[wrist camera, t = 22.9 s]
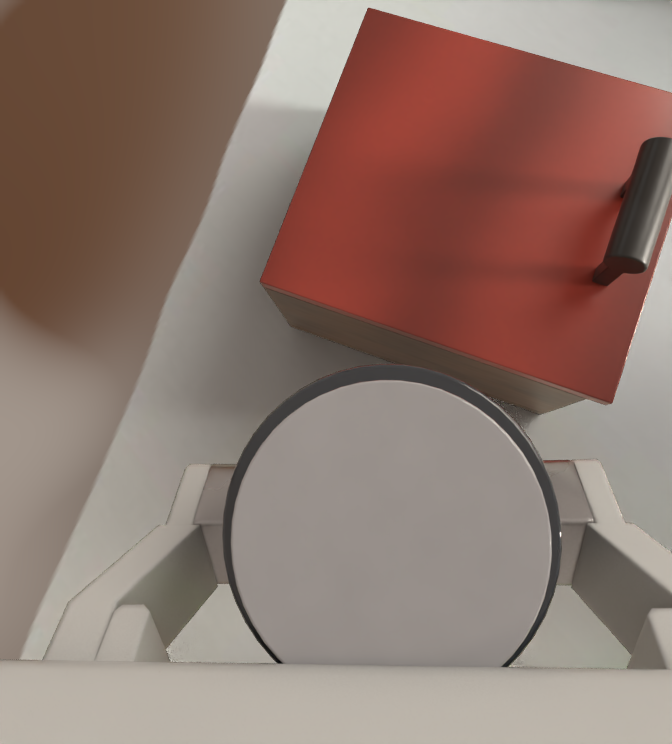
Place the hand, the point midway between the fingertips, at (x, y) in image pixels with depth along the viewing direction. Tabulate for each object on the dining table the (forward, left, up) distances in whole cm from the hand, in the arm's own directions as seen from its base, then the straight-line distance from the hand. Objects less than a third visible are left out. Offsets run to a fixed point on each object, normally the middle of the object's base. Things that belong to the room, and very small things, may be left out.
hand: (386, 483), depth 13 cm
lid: (-9, -9, -14) cm, 19 cm away
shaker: (0, +1, -5) cm, 5 cm away
